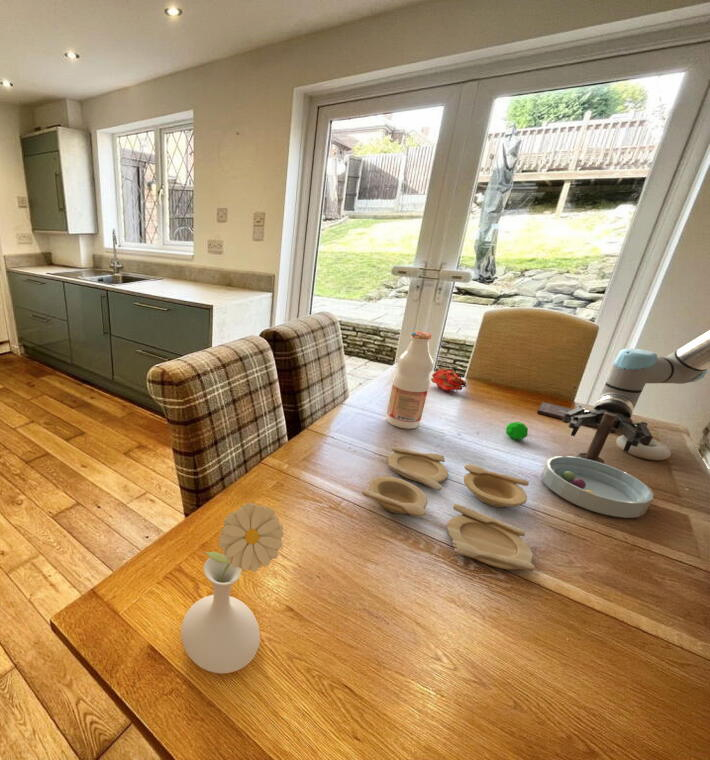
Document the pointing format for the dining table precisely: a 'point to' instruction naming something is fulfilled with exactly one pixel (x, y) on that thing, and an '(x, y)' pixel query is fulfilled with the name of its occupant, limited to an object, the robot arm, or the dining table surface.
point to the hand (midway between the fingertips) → (600, 438)
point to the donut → (646, 449)
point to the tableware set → (459, 507)
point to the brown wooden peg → (600, 438)
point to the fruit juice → (411, 383)
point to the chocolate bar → (559, 412)
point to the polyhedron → (516, 430)
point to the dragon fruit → (448, 380)
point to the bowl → (598, 487)
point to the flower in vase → (221, 611)
